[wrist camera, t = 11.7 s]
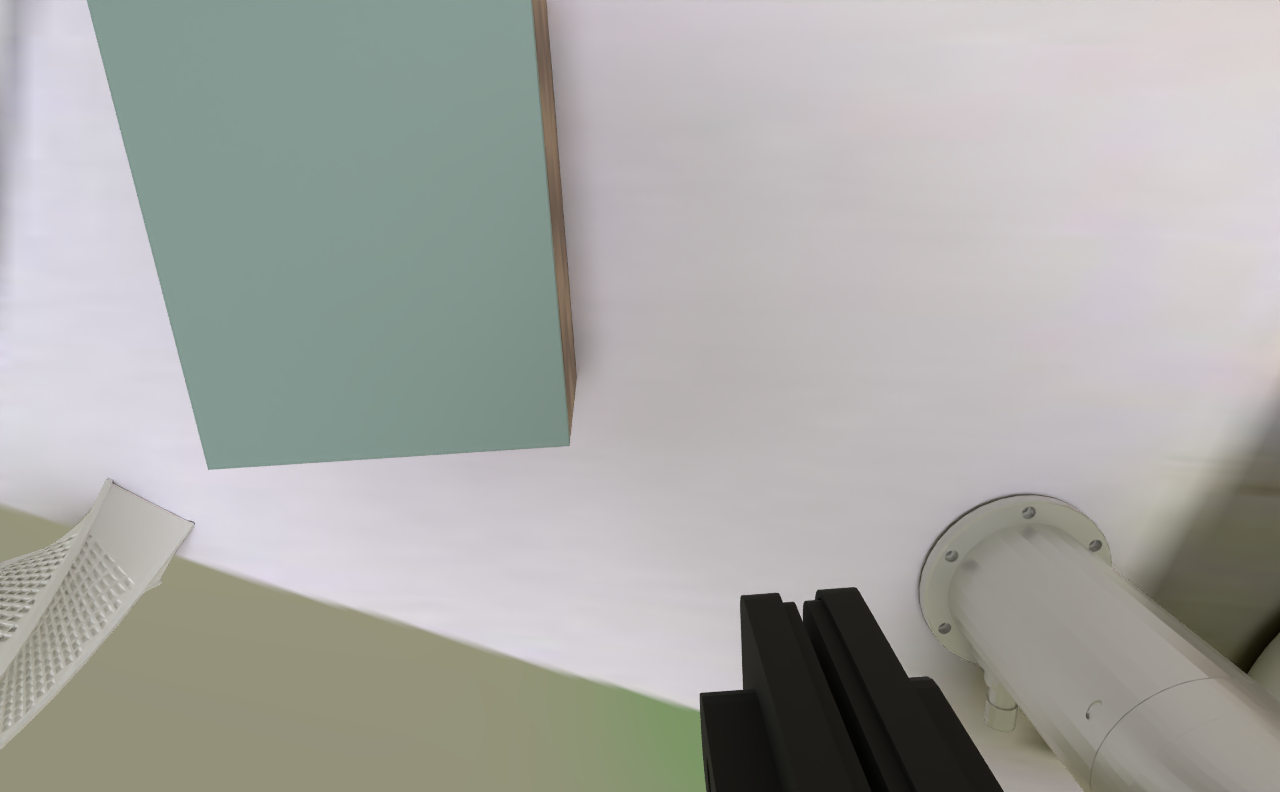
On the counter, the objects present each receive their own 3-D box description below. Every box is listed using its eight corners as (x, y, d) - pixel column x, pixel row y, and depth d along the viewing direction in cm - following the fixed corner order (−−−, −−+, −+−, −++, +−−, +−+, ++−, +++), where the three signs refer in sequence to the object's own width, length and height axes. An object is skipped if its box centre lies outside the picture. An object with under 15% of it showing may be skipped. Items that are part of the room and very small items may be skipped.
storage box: (576, 377, 43) (570, 436, 34) (303, 394, 42) (221, 459, 33) (546, -1, 36) (528, -55, 27) (224, 14, 36) (97, -36, 27)
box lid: (570, 439, 33) (569, 445, 32) (217, 462, 33) (208, 469, 32) (527, -58, 27) (524, -64, 26) (90, -39, 26) (75, -45, 26)
